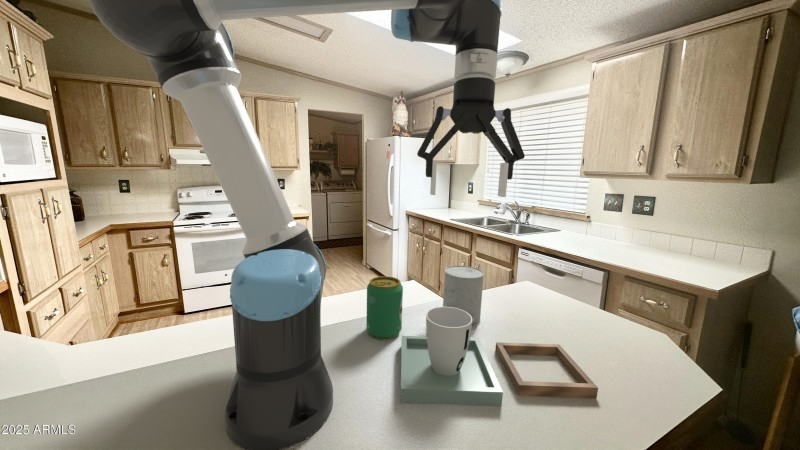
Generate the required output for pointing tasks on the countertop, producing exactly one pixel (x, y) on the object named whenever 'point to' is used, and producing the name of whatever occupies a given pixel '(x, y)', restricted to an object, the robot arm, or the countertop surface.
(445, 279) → the grey stone cylinder
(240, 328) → the robot arm
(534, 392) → the frame
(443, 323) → the cup
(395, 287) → the beverage can
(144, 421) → the countertop surface
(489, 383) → the tray
